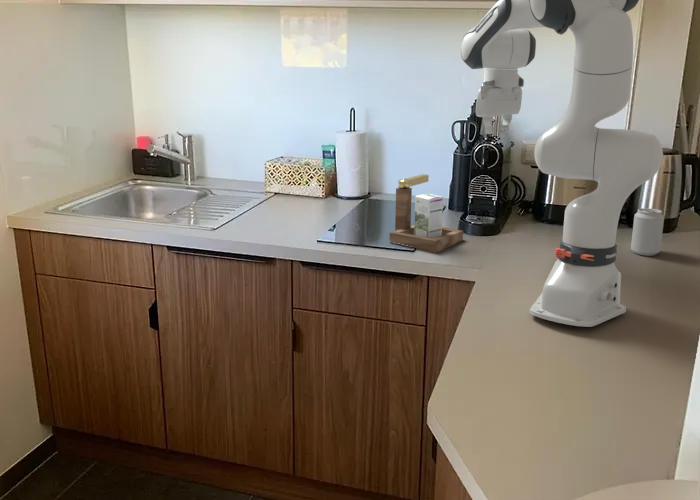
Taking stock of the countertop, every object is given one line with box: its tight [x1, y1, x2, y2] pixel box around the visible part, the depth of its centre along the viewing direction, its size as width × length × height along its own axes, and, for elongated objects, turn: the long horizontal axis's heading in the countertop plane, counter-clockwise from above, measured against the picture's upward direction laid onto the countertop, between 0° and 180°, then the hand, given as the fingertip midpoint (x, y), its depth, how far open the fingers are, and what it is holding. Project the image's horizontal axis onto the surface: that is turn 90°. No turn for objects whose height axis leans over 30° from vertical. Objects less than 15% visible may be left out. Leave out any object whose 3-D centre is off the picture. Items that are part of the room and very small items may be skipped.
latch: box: [397, 173, 429, 188], centre depth 207 cm, size 15×3×2 cm, turn 146°
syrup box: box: [414, 193, 444, 238], centre depth 199 cm, size 6×6×14 cm
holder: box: [388, 187, 464, 254], centre depth 201 cm, size 15×17×16 cm
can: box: [630, 207, 665, 257], centre depth 194 cm, size 8×8×12 cm
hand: (497, 132), depth 195 cm, fingers open, 8 cm apart
